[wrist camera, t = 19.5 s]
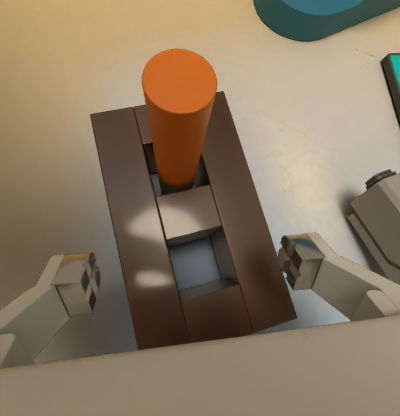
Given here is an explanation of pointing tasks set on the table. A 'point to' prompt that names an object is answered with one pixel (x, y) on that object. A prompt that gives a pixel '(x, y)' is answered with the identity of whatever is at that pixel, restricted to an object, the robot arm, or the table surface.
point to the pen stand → (189, 234)
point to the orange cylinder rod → (178, 113)
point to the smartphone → (393, 76)
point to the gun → (380, 221)
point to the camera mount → (318, 15)
